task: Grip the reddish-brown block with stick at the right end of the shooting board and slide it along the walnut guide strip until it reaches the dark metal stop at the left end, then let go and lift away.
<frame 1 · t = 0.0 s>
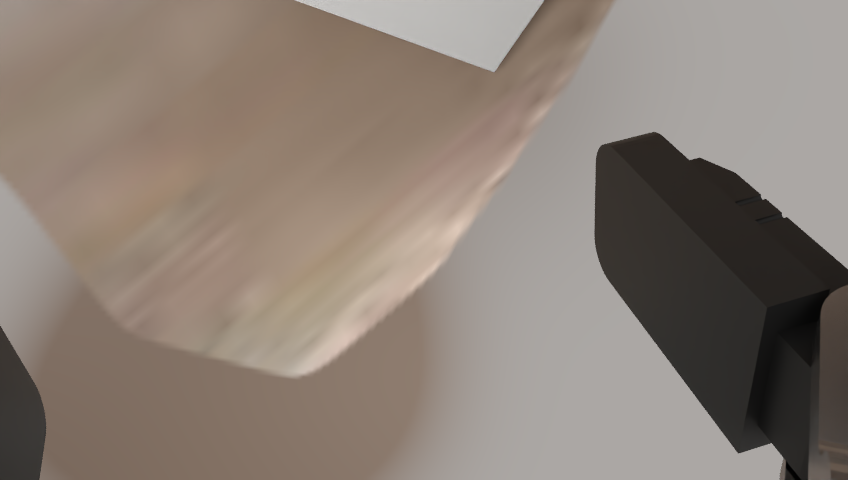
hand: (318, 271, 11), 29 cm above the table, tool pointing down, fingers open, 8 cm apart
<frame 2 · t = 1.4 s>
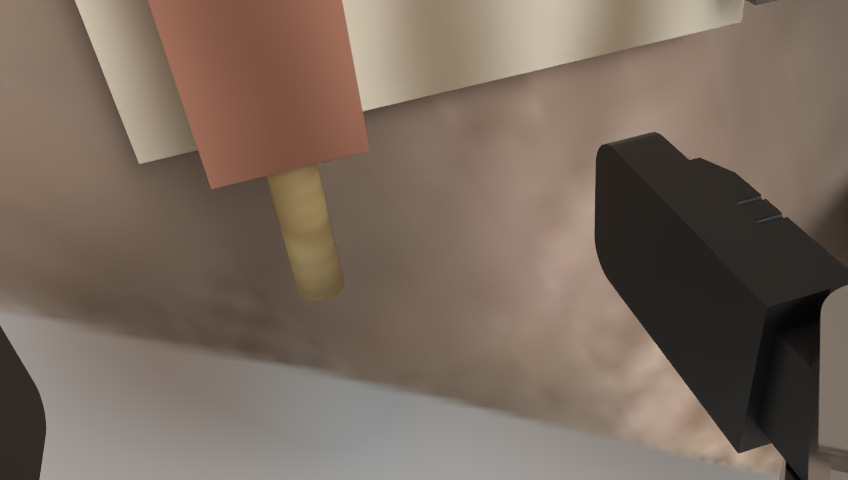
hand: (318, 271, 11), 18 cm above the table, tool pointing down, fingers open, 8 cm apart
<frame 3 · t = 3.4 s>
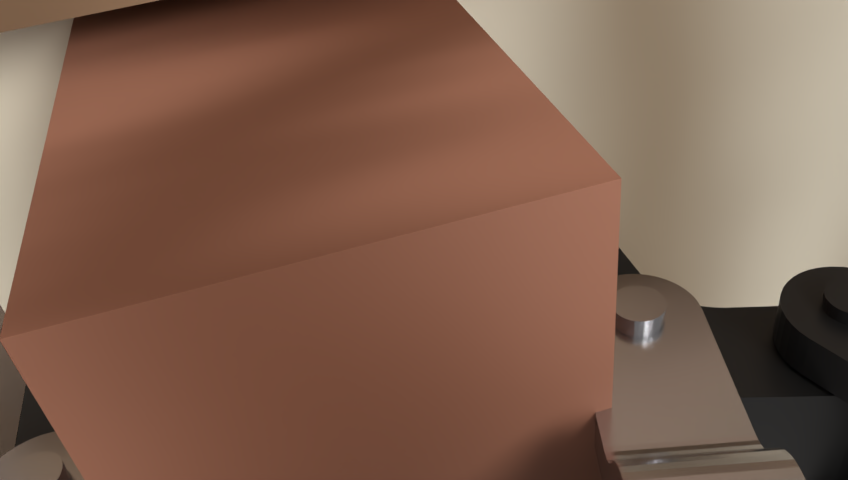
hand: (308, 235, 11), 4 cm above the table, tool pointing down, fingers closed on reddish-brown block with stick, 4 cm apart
reddish-brown block with stick: (302, 206, 12), point 3 cm above the table, touching gripper, shooting board
shooting board: (590, 45, 15), on the table
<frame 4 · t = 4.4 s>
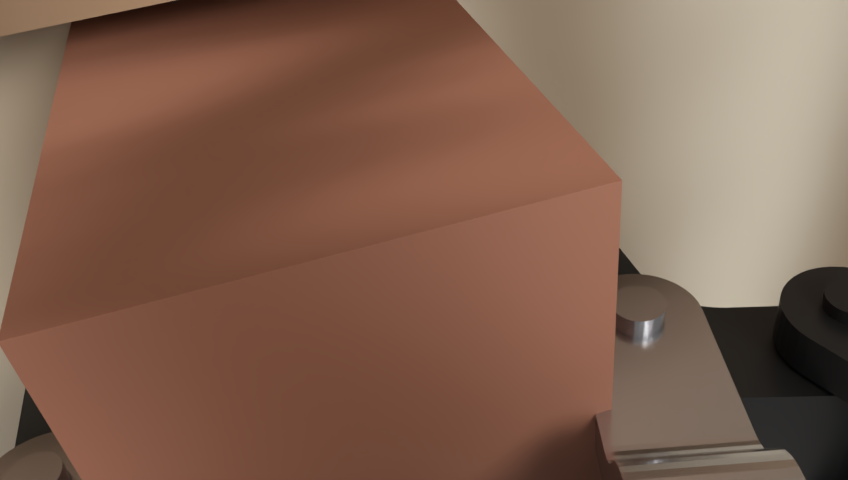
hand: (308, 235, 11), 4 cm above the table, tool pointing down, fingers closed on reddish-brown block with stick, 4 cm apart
reddish-brown block with stick: (301, 206, 12), point 3 cm above the table, touching gripper
shooting board: (514, 63, 15), on the table
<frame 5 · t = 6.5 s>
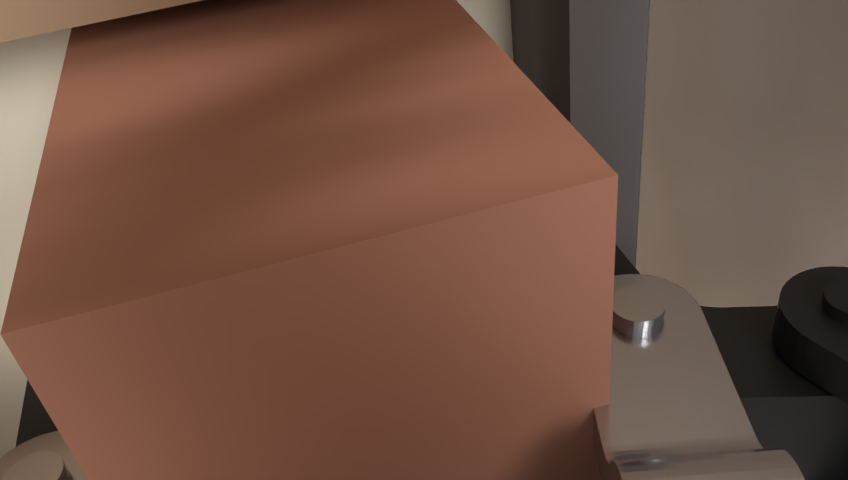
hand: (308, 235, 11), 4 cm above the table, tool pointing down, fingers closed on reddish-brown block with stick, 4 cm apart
reddish-brown block with stick: (302, 205, 12), point 3 cm above the table, touching gripper
when the fingers open (4 cm above the table, at t = 7.7 s): reddish-brown block with stick stays where it is, resting on shooting board.
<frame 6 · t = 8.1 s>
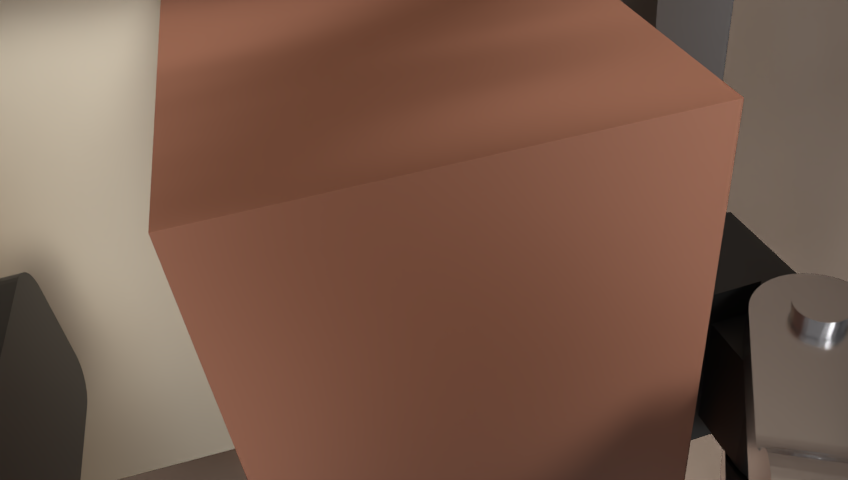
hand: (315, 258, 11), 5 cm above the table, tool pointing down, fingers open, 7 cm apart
reddish-brown block with stick: (368, 159, 12), point 3 cm above the table, touching shooting board
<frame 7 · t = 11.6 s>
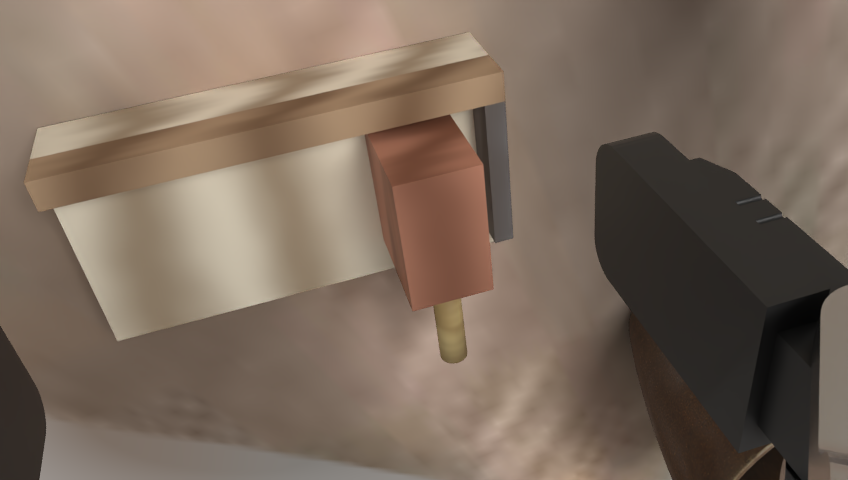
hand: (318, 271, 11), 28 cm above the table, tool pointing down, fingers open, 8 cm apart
reddish-brown block with stick: (411, 174, 40), point 3 cm above the table, touching shooting board
shooting board: (286, 174, 42), on the table
plant pot: (676, 306, 56), on the table
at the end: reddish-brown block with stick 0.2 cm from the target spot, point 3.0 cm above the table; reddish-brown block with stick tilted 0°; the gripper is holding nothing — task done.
